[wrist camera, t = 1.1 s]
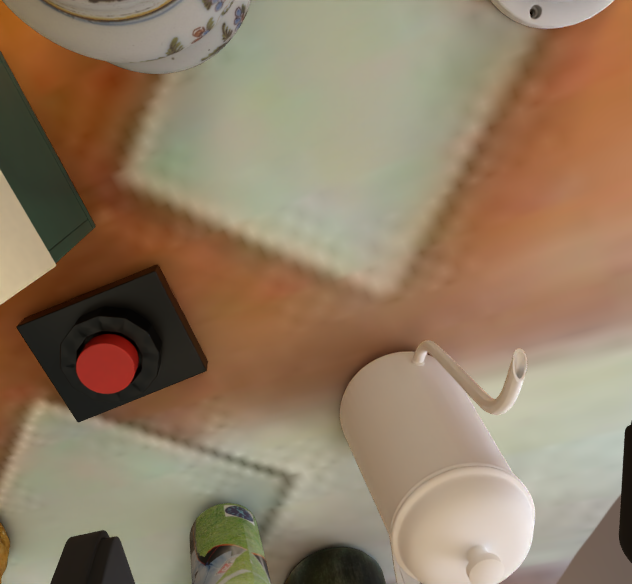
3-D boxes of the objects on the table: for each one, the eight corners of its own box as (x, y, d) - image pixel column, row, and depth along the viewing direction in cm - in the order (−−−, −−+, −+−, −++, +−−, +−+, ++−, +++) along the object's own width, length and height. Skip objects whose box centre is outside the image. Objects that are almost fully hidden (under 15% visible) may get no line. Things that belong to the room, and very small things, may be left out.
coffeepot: (486, 266, 45) (641, 373, 28) (433, 513, 53) (528, 717, 36) (357, 257, 44) (436, 365, 26) (322, 513, 52) (365, 728, 34)
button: (99, 390, 41) (93, 402, 40) (71, 345, 40) (64, 356, 38) (148, 370, 41) (144, 381, 40) (123, 324, 40) (118, 334, 38)
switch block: (83, 411, 45) (71, 436, 42) (24, 318, 42) (5, 337, 39) (208, 361, 45) (205, 382, 42) (158, 264, 42) (151, 278, 39)
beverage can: (177, 531, 50) (159, 656, 39) (227, 475, 49) (224, 588, 38) (232, 560, 52) (230, 688, 41) (282, 508, 51) (294, 625, 40)
